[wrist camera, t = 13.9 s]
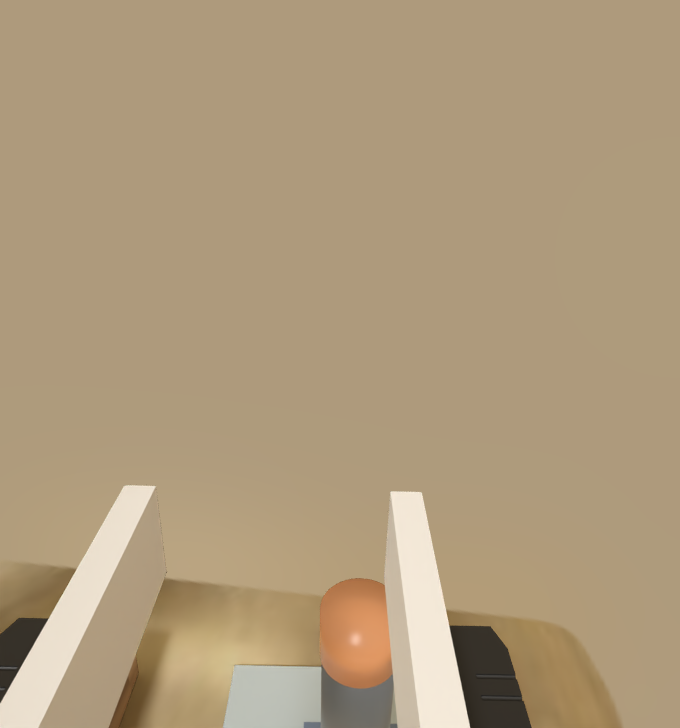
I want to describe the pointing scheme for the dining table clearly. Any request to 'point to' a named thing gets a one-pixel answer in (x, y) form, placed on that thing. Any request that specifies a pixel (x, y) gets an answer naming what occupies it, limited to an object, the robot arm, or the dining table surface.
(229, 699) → the sketch pad
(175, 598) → the dining table surface
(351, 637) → the marker
